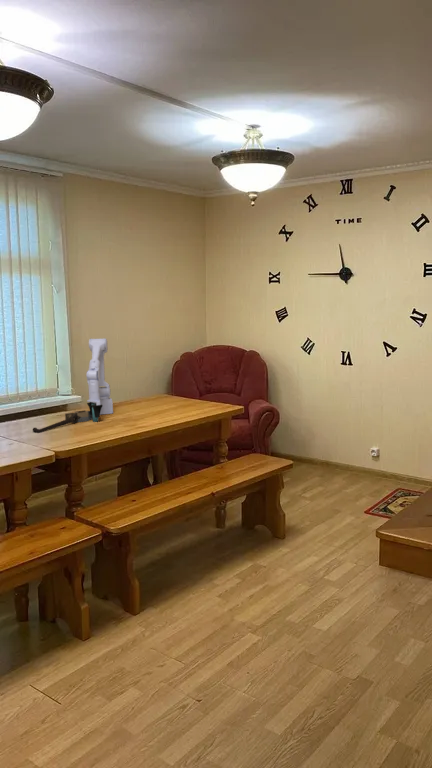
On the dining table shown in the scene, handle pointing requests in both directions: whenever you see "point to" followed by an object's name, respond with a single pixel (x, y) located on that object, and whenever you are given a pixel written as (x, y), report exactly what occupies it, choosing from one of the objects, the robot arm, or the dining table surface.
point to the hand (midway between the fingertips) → (95, 416)
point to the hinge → (80, 415)
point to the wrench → (59, 423)
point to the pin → (94, 414)
